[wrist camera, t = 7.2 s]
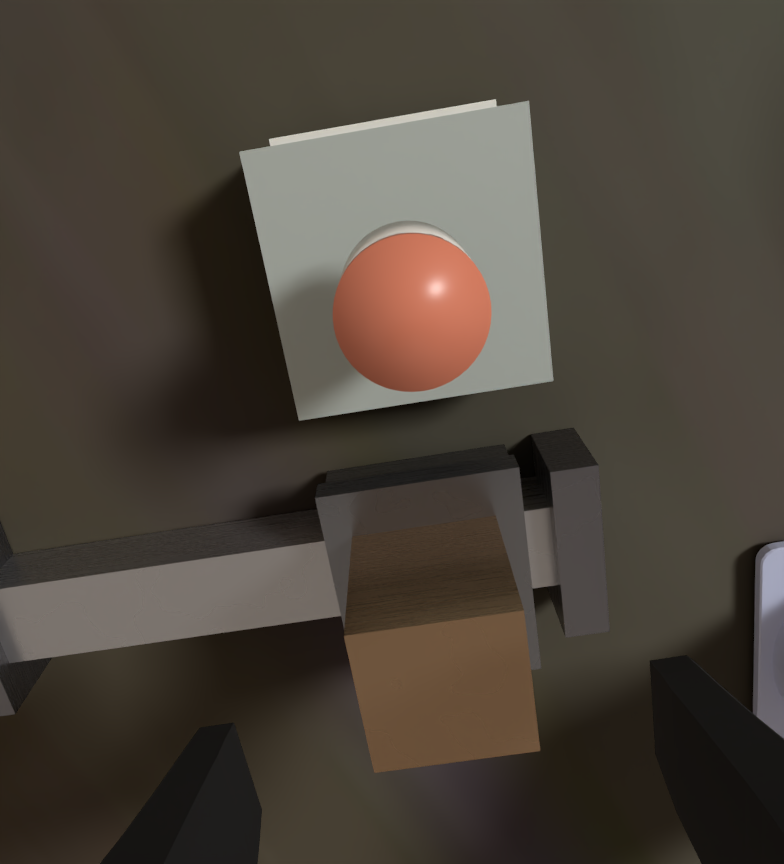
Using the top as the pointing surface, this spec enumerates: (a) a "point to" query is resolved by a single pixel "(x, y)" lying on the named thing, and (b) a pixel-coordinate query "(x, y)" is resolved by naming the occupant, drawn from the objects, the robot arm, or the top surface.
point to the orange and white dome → (411, 307)
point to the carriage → (435, 605)
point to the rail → (265, 575)
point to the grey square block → (390, 202)
